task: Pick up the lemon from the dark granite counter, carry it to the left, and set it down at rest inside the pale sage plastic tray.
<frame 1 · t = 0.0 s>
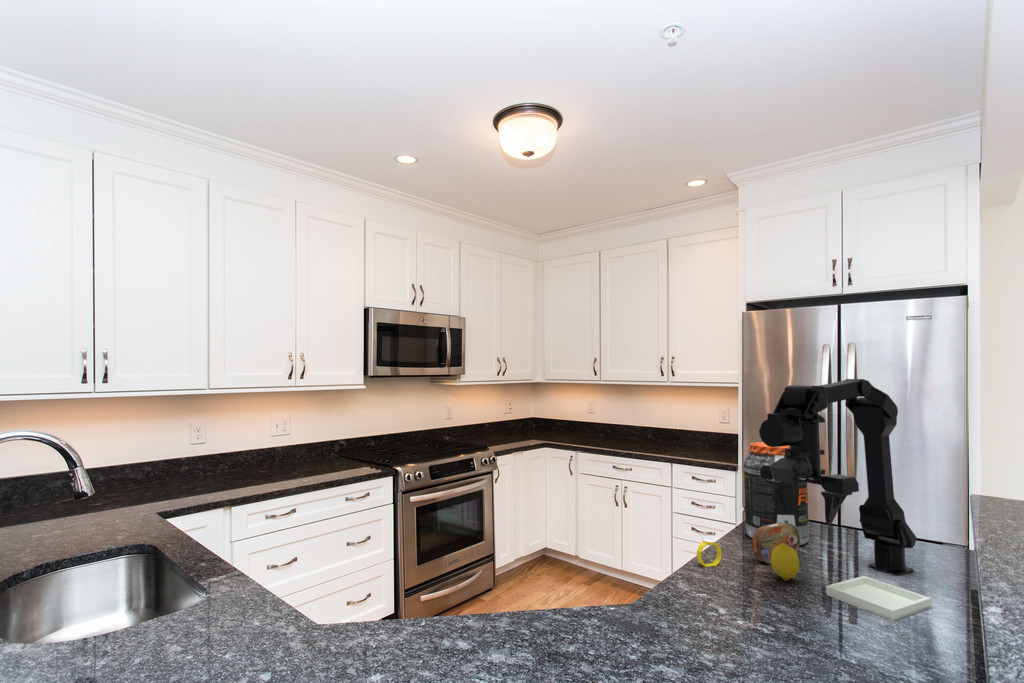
hand: (807, 519, 109), 15 cm above the worktop, tool pointing down, fingers open, 9 cm apart
tin: (776, 560, 127), on the worktop
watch: (709, 566, 123), on the worktop
lemon: (785, 581, 114), on the worktop
tray: (877, 601, 103), on the worktop
supplement tub: (776, 539, 143), on the worktop
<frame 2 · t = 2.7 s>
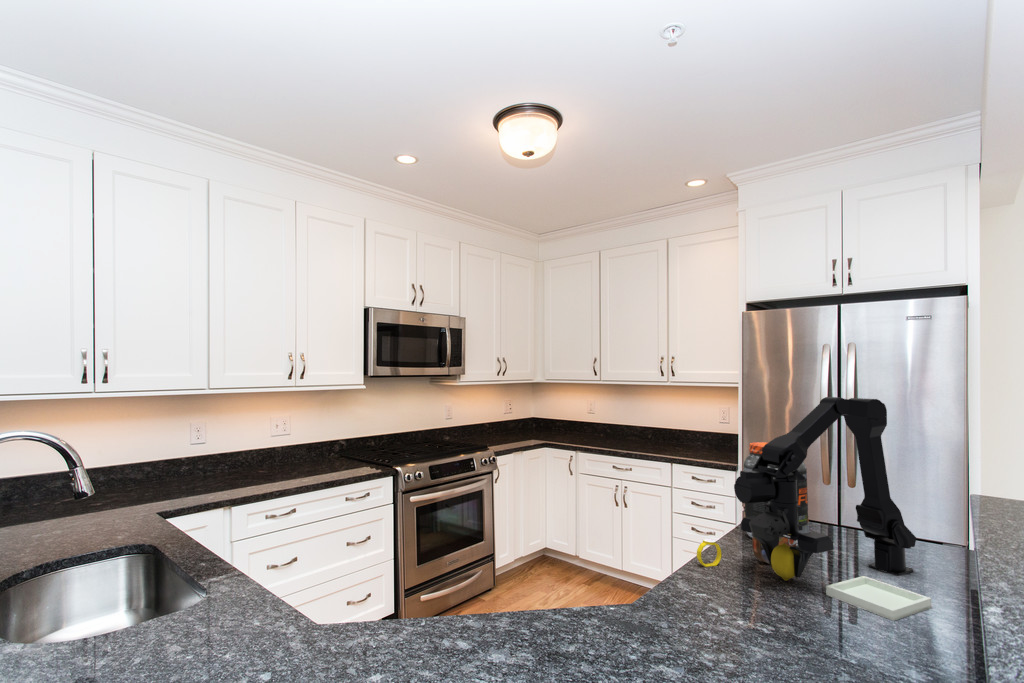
hand: (785, 572, 114), 2 cm above the worktop, tool pointing down, fingers closed on lemon, 5 cm apart
lemon: (785, 581, 114), on the worktop, touching gripper
everything else where it was.
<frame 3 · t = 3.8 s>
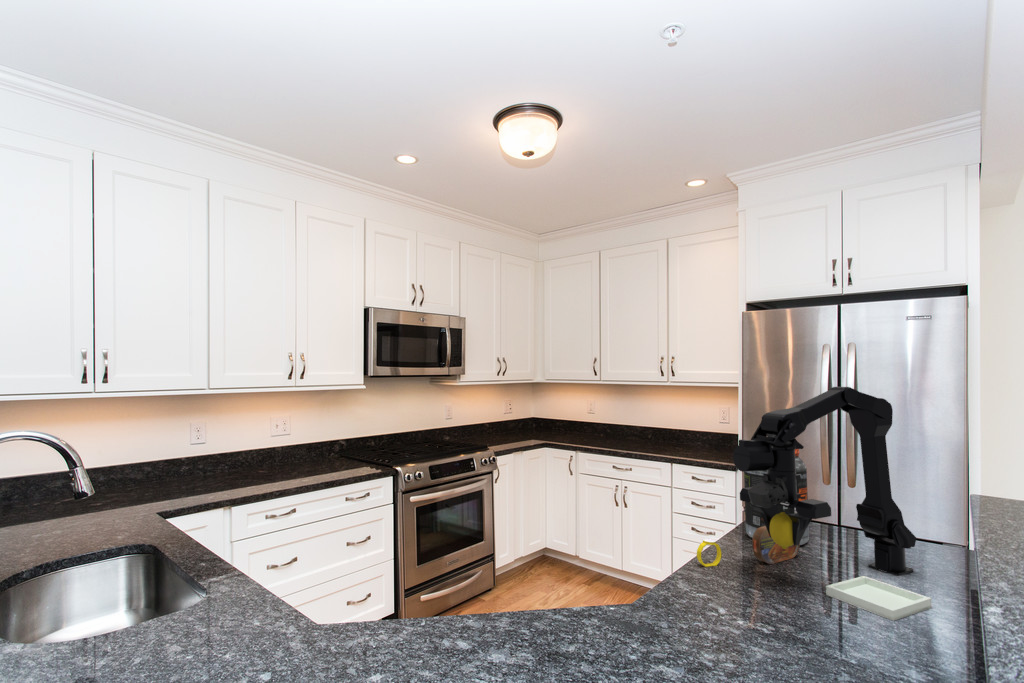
hand: (784, 541, 114), 8 cm above the worktop, tool pointing down, fingers closed on lemon, 5 cm apart
lemon: (784, 549, 114), point 7 cm above the worktop, touching gripper
everything else where it was.
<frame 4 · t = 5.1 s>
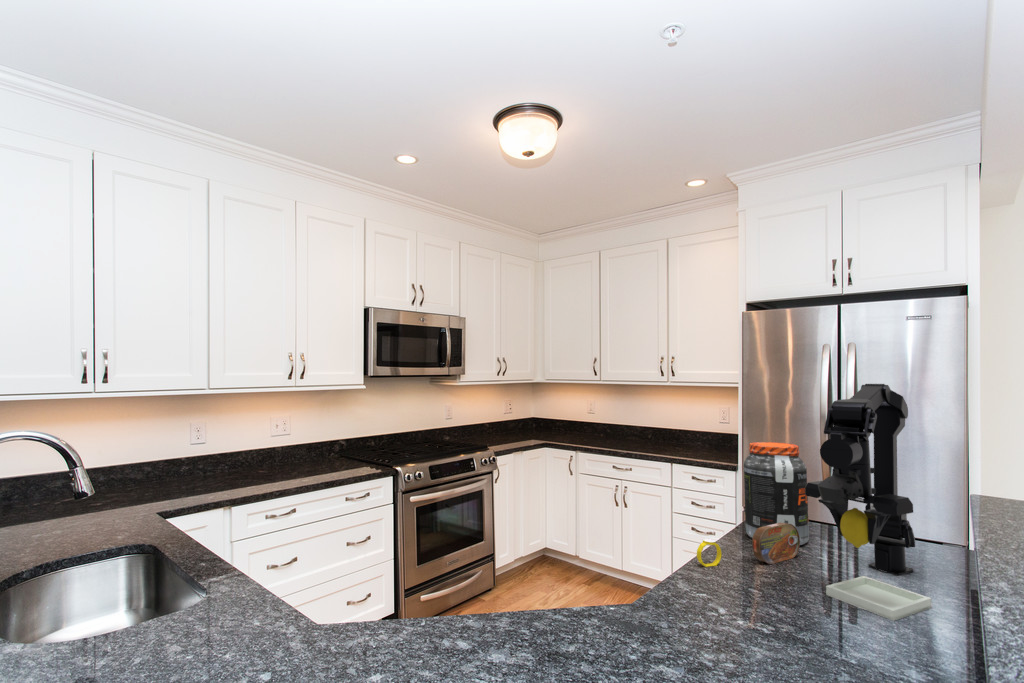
hand: (857, 539, 106), 11 cm above the worktop, tool pointing down, fingers closed on lemon, 5 cm apart
lemon: (857, 548, 106), point 10 cm above the worktop, touching gripper
everything else where it was.
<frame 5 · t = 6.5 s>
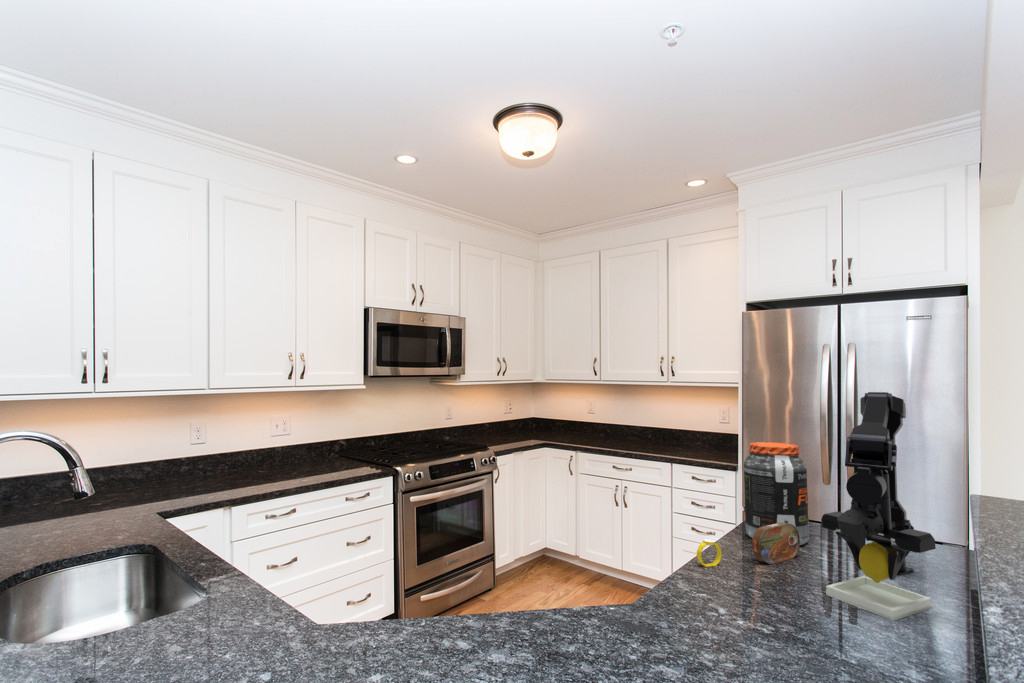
hand: (876, 574, 104), 5 cm above the worktop, tool pointing down, fingers closed on lemon, 5 cm apart
lemon: (876, 583, 103), point 3 cm above the worktop, touching gripper
everything else where it was.
when the fingers open (3 cm above the worktop, at t = 7.7 s): lemon drops 1 cm, resting on tray.
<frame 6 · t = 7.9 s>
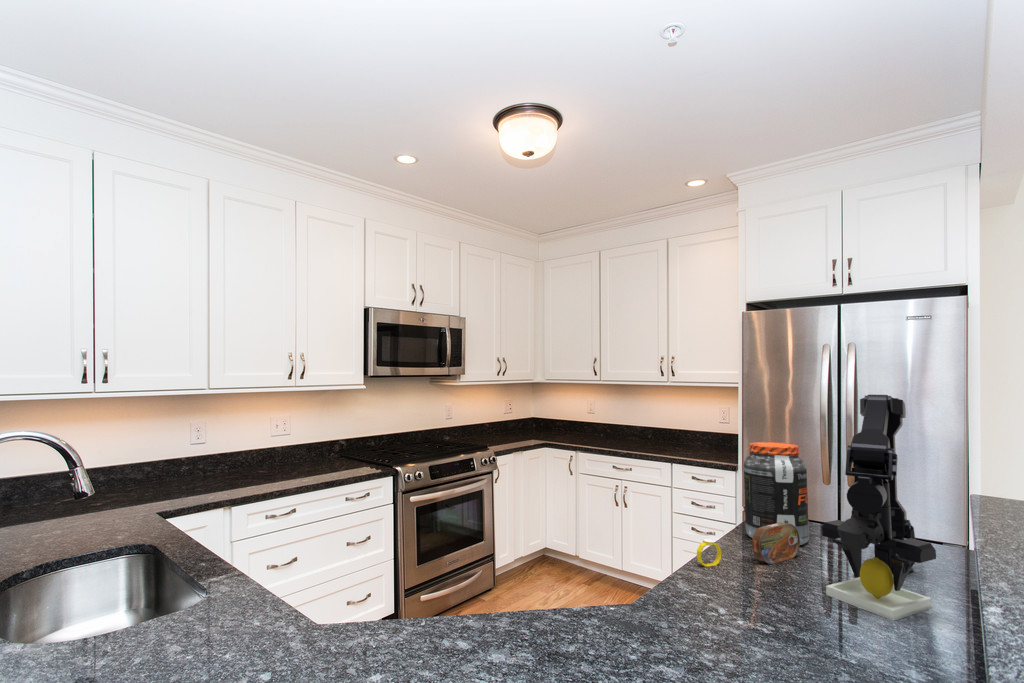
hand: (876, 583, 103), 3 cm above the worktop, tool pointing down, fingers open, 7 cm apart
lemon: (877, 599, 103), resting on tray
everything else where it was.
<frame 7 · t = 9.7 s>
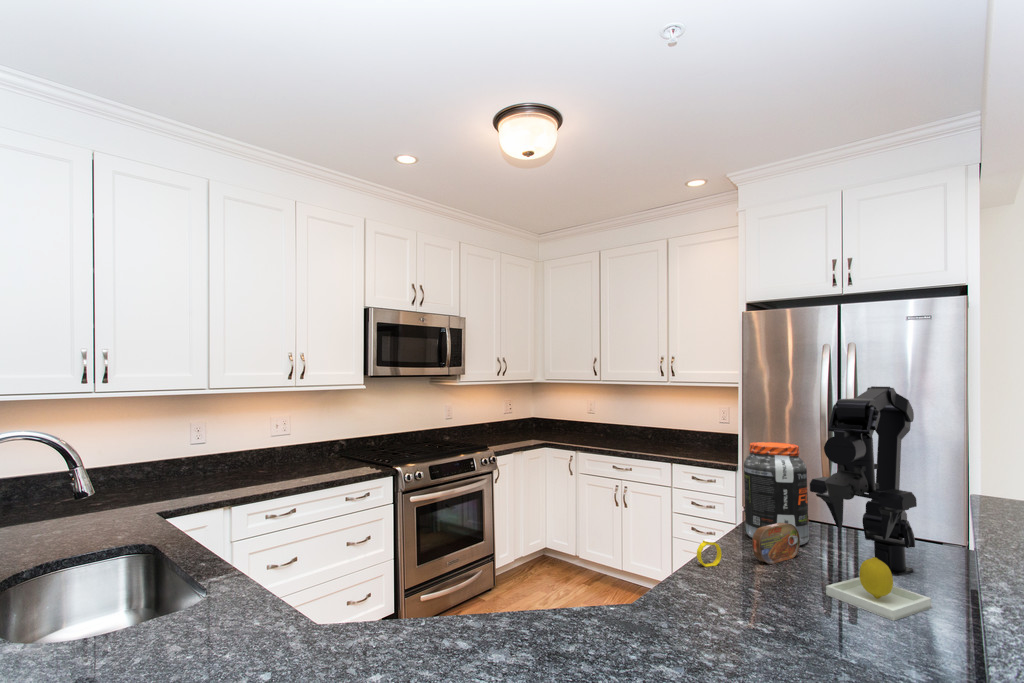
hand: (861, 533, 109), 12 cm above the worktop, tool pointing down, fingers open, 9 cm apart
nothing on the worktop moved.
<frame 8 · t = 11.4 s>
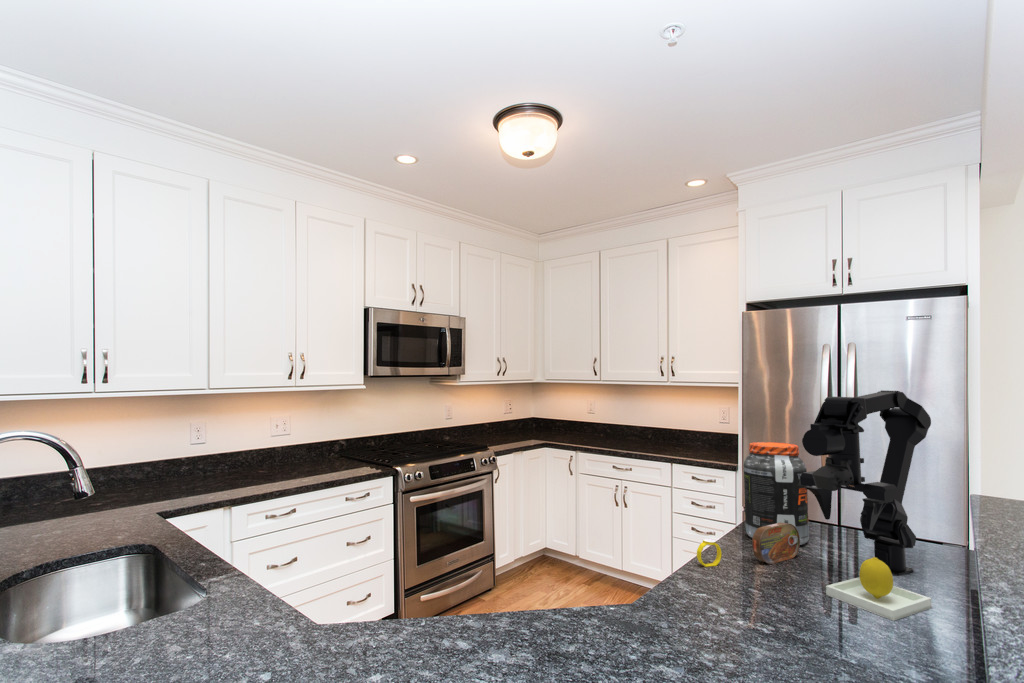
hand: (847, 524, 115), 12 cm above the worktop, tool pointing down, fingers open, 9 cm apart
nothing on the worktop moved.
at the end: lemon inside the target area on the tray (0.1 cm from its centre), point 0.3 cm above the tray's base; lemon touching tray; the gripper is holding nothing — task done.
